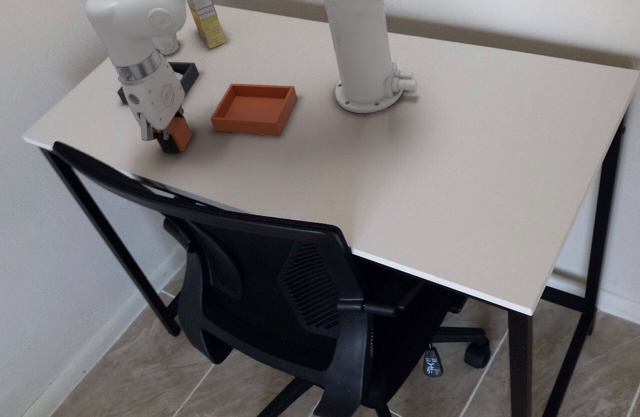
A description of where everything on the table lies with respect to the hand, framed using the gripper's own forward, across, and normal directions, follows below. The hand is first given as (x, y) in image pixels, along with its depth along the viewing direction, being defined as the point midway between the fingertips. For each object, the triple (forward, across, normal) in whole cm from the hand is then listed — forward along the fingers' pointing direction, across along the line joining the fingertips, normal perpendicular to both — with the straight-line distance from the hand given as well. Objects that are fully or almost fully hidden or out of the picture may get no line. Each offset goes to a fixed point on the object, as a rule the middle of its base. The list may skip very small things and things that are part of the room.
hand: (177, 140), depth 120 cm
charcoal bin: (0, +15, +11) cm, 19 cm away
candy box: (+1, +33, +7) cm, 34 cm away
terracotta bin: (+1, +9, -13) cm, 16 cm away
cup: (+1, +29, +17) cm, 34 cm away
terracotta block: (0, 0, 0) cm, 0 cm away
